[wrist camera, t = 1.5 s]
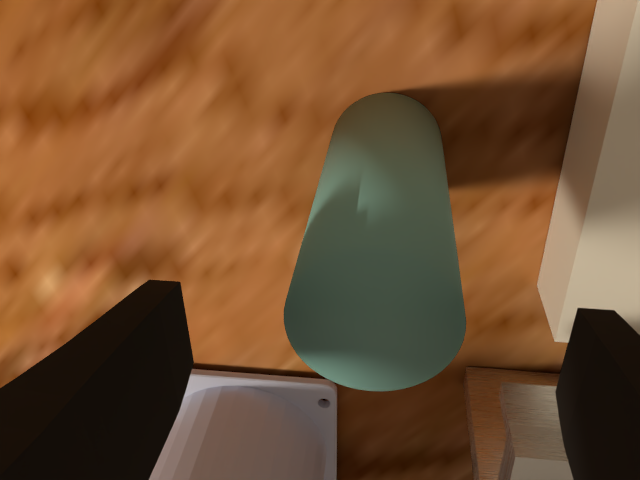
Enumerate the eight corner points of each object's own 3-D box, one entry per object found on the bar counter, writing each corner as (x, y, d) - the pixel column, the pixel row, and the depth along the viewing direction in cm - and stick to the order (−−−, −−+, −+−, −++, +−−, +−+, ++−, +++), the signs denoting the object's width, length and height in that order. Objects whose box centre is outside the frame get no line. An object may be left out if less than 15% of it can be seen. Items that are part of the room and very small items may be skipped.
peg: (436, 198, 20) (456, 398, 12) (331, 193, 20) (287, 384, 13) (446, 94, 18) (476, 253, 11) (331, 91, 19) (279, 242, 11)
